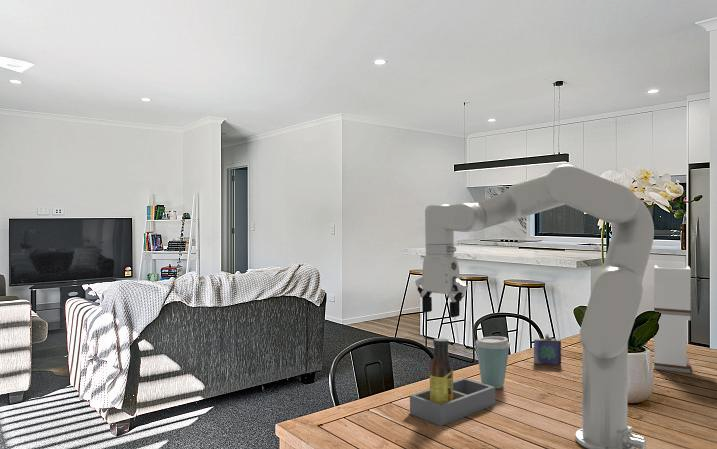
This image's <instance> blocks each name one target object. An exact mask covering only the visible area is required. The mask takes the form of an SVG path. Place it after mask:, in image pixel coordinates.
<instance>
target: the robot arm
mask: <svg viewBox="0 0 717 449" xmlns="http://www.w3.org/2000/svg"><path fill="white" fill-rule="evenodd" d="M564 205H566V206H568V207H571V208H573V209H575V210H577V211H580V212H582V213H585V214H587V215H590V216H592V217H594V218H597V219H598V220H601V221H604V222H606V223H609V224H610V226H611V229H612V231H611V232H612V233H611V238H610V241H609V244H608V249H607V252H606V255H605V259H604V262H603V264H602V267H601V269H600V271H599V273H598V275H597V277H596V278H595V281H594V283H593V286H592V289H591V294H590V297H589V300H588V303H587V306H586V310H585V313H584V316H583V319H582V323H581V325H580V328H579V340H580V342H581V345H582V374H581V375H582V377H581V378H582V380H581V382H582V386H581V387H582V389H581V390H582V391H581V392H582V395H581V396H582V400H581V402H582V403H581V404H582V406H581V408H582V411H581V412H582V413H581V415H582V416H581V417H582V419H581V420H582V421H581V423H582V424H581V425H582V426H581V427H582V428H580V429H578V430H576V432H575V440H576V442H577V443H578V444H580V445H581V446H582V447H584V448H586V449H635V448H637V449H646V447H647V441H645V437H644V436H641V435H636V434H634V433H633V426H630V425H628V378H629V377H628V374H629V373H628V362H629V361H628V358H629V357H628V356H629V354H628V352H629V350H628V348H629V346H628V345H629V344H628V343H629V342H628V341H629V339H630V336H631V333H632V329H633V327H634V324H635V320H636V318H637V315H638V312H639V308H640V307H641V306H640V305H641V302H642V298H643V292H644V288H643V287H644V286H643V280H644V276H645V272H646V268H647V266H648V262H649V258H650V255H651V251H652V248H653V243H654V239H655V238H654V237H655V226H654V220H653V217H652V215H651V212H650V210H649V209H648V207H647V205H646V204H645V203H644V202H643V201H642V200H641V199H640V198H639V197H638V196H637V195H636V194H635V192H634V191H633V190H632V189H630V188H629V187H627V186H625V185H622V184H620V183H617V182H614V181H612V180H609V179H607V178H604V177H601V176H599V175H597V174H593V173H591V172H588V171H587V170H585V169H581V168H580V167H577V166H575V165H572V164H560V165H559V166H556V167H554V168H553V169H552V170H551V171H550V172H548V173H545V174H542V175H539V176H536V177H533V178H530V179H527V180H524V181H523V180H522V181H520V182H518V183H515V184H513V185H511V186H509V187H508V188H507V189H506V190H505V191H503V192H501V193H500V194H497V195H494V196H492V197H490V198H486V199H483V200H480V201H477V202H473V203H472V202H471V203H470V202H462V203H455V204H431V205H427V206H426V207H425V210H424V224H425V225H424V229H425V230H424V231H425V232H424V233H425V234H424V238H425V255H424V257H423V262H422V270H421V271H422V272H421V273H422V275H421V276H420V277H419V278H418V279H416V280H415V281H414V283H415V286H416V287H417V291H418V293H419V296H420V298H421V301H422V302H421V304H422V306H421V309H422V310H421V312H422V313H429V312H433V303H432V301H433V300H432V296H431V295H432V294H433V293H434V294H442V295H443V294H444V295H447V296H448V298H449V299H450V302H449V317H450V318H456V317H460V311H461V310H460V309H461V308H460V302H461V301H463V300H462V299H463V298H464V297H465V295H466V292H467V290H468V285H467V284H465V283H464V282H463V281H461V275H460V274H461V273H460V266H459V262H458V257H457V256H456V255H455V253H456V252H457V247H456V246H455V242H454V241H455V239H454V234H455V232H460V233H469V232H477V231H480V230H484V229H487V228H491V227H493V226H497V225H500V224H503V223H506V222H509V221H514V220H519V219H522V218H527V217H528V216H531V215H535V214H538V213H541V212H544V211H548V210H552V209H554V208H557V207H561V206H564Z"/></svg>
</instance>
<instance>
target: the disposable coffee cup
mask: <svg viewBox="0 0 717 449" xmlns="http://www.w3.org/2000/svg"><path fill="white" fill-rule="evenodd" d="M475 346H476V347H475V348H476V355H477V359H478V360H477V362H478V368H479V374H480V381H481V382H480V383H483V384H486V385H490V386H493V387H495V389H501V388H503V386H504V385H505V379H506V372H507V365H508V358H509V352H510V351H509V350H510V347H511V343H510V341H509V338H507V337H506V336H499V335H498V336H497V335H496V336H484V337H479V338H478V339H476V340H475Z"/></svg>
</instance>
